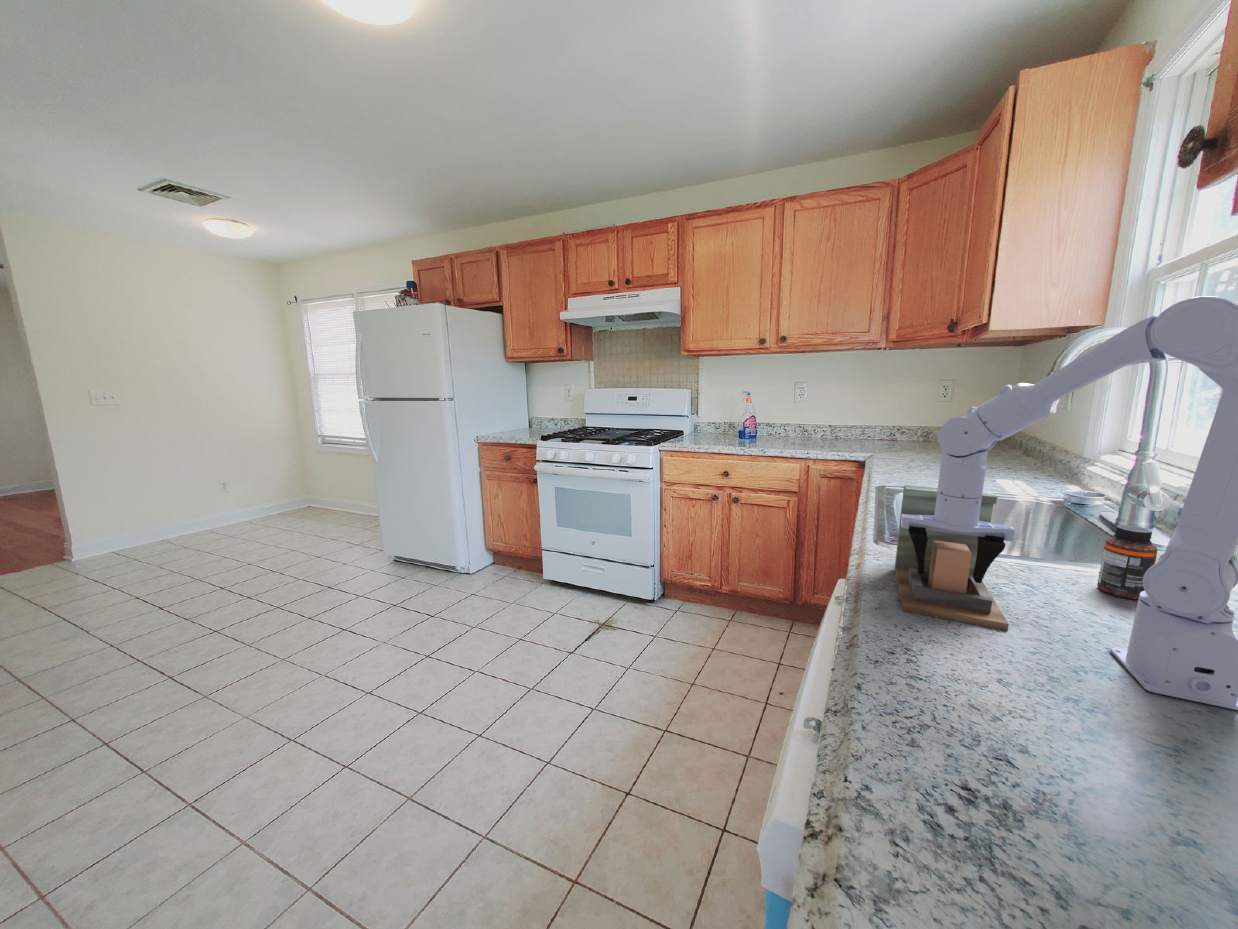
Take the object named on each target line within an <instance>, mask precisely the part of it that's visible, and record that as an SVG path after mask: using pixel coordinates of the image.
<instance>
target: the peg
mask: <svg viewBox="0 0 1238 929" xmlns="http://www.w3.org/2000/svg"><path fill="white" fill-rule="evenodd" d="M971 555H972V553H971V551H970V550H969V548H968V547H967V545H966V544H959V543H951V542H943V541H935V540H934V541H933V549H932V556H931V564H930V572H929V580H928V587H929V588H935V589H941V590H947V591H953V592H959V593H965V594H966V590H967V583H968V576H969V569H970V562H971Z"/></svg>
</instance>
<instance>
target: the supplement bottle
mask: <svg viewBox="0 0 1238 929" xmlns="http://www.w3.org/2000/svg"><path fill="white" fill-rule="evenodd" d="M1114 532H1115V534H1113V535H1112V536H1109V537H1108V538H1106V539H1105V542H1104V546H1103V552H1102V556H1101V563H1100V568H1099V572H1098V577H1097V578H1098V579H1097V585H1096V586H1097V587H1098V589H1100V590H1101V591H1103V592H1104V591H1105V593H1107V594H1110V595H1111V596H1112V595H1113V596H1115V597H1119V598H1124V599H1128V600H1139V595H1140V592H1142V591H1145V590H1144V587H1143V577H1144V574H1145V572H1146V571H1147V570H1148V569H1149V568H1150V567H1151V566H1153V565H1154V564H1156V562H1157V560H1156V559H1157V554H1158V548H1157V546H1156V545H1155V544H1154V543H1153V542H1152V541H1151V539H1152V534H1153V531H1152V530H1151V529H1148V528H1145V527H1141V526H1136V525H1129V524H1119V525H1116V527H1115V531H1114Z"/></svg>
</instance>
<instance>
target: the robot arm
mask: <svg viewBox="0 0 1238 929" xmlns="http://www.w3.org/2000/svg"><path fill="white" fill-rule="evenodd" d="M1167 355H1168V356H1170V357H1172V358H1174V359H1177V360H1179V361H1182V362H1185V363H1188V364H1190V365H1192V366H1195V367H1197V368H1198V369H1199V371H1201V373H1203V374H1204V375H1206V376H1207V377H1208V378H1209V379H1210V380H1212V381H1213V383H1215V384H1217V385H1218V386H1219V387H1220V388H1221V389H1222V393H1221V396H1220V399H1219V402H1218V405H1217V408H1216V411H1215V413H1214V416H1213V419H1212V422H1211V425H1210V428H1209V431H1208V433H1207V436H1206V440H1205V442H1204V445H1203V448H1202V451H1201V454H1200V457H1199V460H1198V462H1197V466H1196V469H1195V471H1194V475H1193V477H1192V480H1191V482H1190V485H1189V486H1190V487H1189V489H1188V492H1187V495H1186V497H1185V500H1184V502H1183V507H1182V510H1181V513H1180V515H1179V519H1178V521H1177V524H1176V526H1175V528H1174V531H1173V533H1172V536H1171V537H1170V539H1169V541H1168V543H1167V545H1166V548H1165V551H1164V553H1162V554H1161V555H1160V557H1159V558H1158V560H1157V561H1156V562H1155V564H1154V565H1153V566H1151V567H1150V568H1149V569H1148V570H1147V571H1146V572H1145V574H1144V577H1143V587H1144V590H1145V591H1142V592H1140V595H1139V599H1137V605H1136V608H1135V609H1136V610H1135V614H1134V619H1133V622H1132V623H1133V624H1132V627H1131V633H1130V638H1129V640H1128V641H1129V642H1128V647H1127V649H1124V648H1118V647H1110V648H1109V651H1110V652H1111V654H1112V655H1113V656H1114V657H1115V658H1116V659H1117V660H1118V661H1119V662H1120V664H1122V666H1123V667H1124V668H1125V669H1126V670H1127V671H1128V672H1129V673H1130V674H1131V675H1132V676H1133V678H1135V680H1136V681H1137V682H1138V683H1139V684H1140V685H1141V686H1142V687H1143V688H1144V689H1145V690H1146V691H1148V692H1151V693H1154V694H1159V695H1164V696H1169V697H1173V698H1178V699H1183V700H1187V701H1192V702H1198V703H1203V704H1207V705H1211V706H1212V705H1213V706H1215V707H1220V708H1221V707H1222V708H1226V709H1230V710H1236V711H1238V639H1237V637H1236V635H1235V634H1234V631H1233V622H1234V618H1235V612H1234V611H1233V610H1232V609H1230V606H1228V603H1229V601H1230V597H1231V592H1232V590H1233V589H1234V588H1235V587H1236V586H1237V584H1238V568H1237V566H1236V563H1235V559H1234V558H1235V557H1234V555H1235V552H1236V549H1237V547H1238V305H1237V304H1236V303H1234V302H1232V301H1231V300H1229V299H1226V298H1223V297H1219V296H1212V295H1211V296H1209V295H1205V296H1202V295H1201V296H1195V297H1189V298H1186V299H1183V300H1181V301H1177V302H1176V303H1174V304H1172V305H1170V306H1168V307H1167V308H1165V309H1164V310H1163V311H1162V312H1161V313H1160V314H1159V315H1158V316H1157V315H1151V316H1148V317H1146V318H1144V319H1141V320H1140V321H1138V322H1136V323H1134V324H1132V325H1130V326H1128V327H1127V328H1125V329H1124V330H1121V331H1120V332H1118V333H1116V334H1115V335H1113V336H1111V337H1110V338H1108V339H1106V340H1105V341H1103V342H1101V343H1100V344H1098V345H1097V346H1095V347H1093V348H1092V349H1090V350H1089V351H1087V352H1085V353H1083V354H1082V355H1081V356H1079V357H1077V358H1076V359H1074V360H1073V361H1071V362H1069V363H1067V364H1066V365H1065V366H1063V367H1061V368H1060V369H1058V370H1056V371H1054V372H1053V373H1052V374H1050V375H1048V376H1046V377H1045V378H1043V379H1041V380H1040V381H1038V382H1037V383H1033V384H1032V383H1026V382H1019V383H1016V384H1015V385H1013V386H1012V384H1006V385H1004V386H1001V388H999V389H998V390H997V391H998V393H999V394H997V395H996V396H994V397H992V398H990V399H989V400H987V401H986V402H983V403H982V404H981V405H979V406H978V407H976V406H972V407H970V408H968V409H966V413H967V415H966V416H955V417H952V418H949V419H948V420H947V422H945V423H944V424H943V425H942V426H941V427H940V429H939V430H938V434H937V442H938V445H939V447H940V448H941V449H942V455H941V462H940V467H939V468H940V469H939V475H938V482H937V483H938V485H937V488H938V490H937V498H936V506H935V514H934V515H908V514H902V517H901V528H905V529H908V531H909V534H910V537H911V539H912V542H913V545H914V549H915V553H916V559H917V571H918V574H923V573H924V560H925V551H926V546H927V541H928V537H927V532H926V530H931V531H939V532H947V533H956V534H964V535H972V536H978V547H977V558H976V563H975V567H974V573H973V578H974V580H975V582H976V583H981V582H982V581H983V579H984V576H985V575H986V573H987V571H988V569H989V568H990V566H991V565H992V564H993V562H994V561H995V560H996V559H997V557H999V555H1000V554H1002V552H1003V551H1004V550H1005V548H1006V543H1005V542H1014V539H1015V538H1014V537H1015V532H1016V529H1015V528H1014V527H1013V526H1012V525H1006V524H1000V523H999V524H997V523H995V522H994V523H992V522H991V523H988V522H983V521H979V514H980V507H981V500H982V493H983V492H984V487H985V486H984V485H985V480H986V479H985V478H986V472H987V461H988V455H989V453H988V452H989V451H990V450H992V448H994V446H995V445H996V444H997V442H1000V441H1003V440H1005V439H1006V438H1009V437H1010V436H1012V435H1014V434H1017V433H1018V432H1020V431H1022V430H1024V429H1026V428H1028V427H1030V426H1032V425H1034V424H1036V423H1037V422H1039V421H1041V420H1043V419H1045V418H1048V416H1049V415H1050V413H1051V410H1052V407H1053V404H1054V403H1055V402H1057V401H1058V400H1061V399H1063V398H1064V397H1067V396H1068V395H1071V394H1072V393H1074V392H1077V391H1078V390H1081V389H1083V388H1084V387H1086V386H1088V385H1090V384H1092V383H1094V382H1096V381H1099V380H1101V379H1102V378H1105V377H1107V376H1109V375H1110V374H1112V373H1114V372H1116V371H1118V370H1120V369H1122V368H1125V367H1127V366H1130V365H1131V366H1133V365H1138V364H1145V363H1146V364H1147V363H1153V362H1161V361H1166V356H1167Z"/></svg>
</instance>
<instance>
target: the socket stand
mask: <svg viewBox="0 0 1238 929" xmlns="http://www.w3.org/2000/svg"><path fill="white" fill-rule="evenodd" d="M937 490H938V487H930V486H928V487H927V486H919V485H907V484H904V485H903V490H902V500H901V509H900V517H899V526H898V534H897V535H898V536H897V543H896V551H895V561H894V568H895V570H894V573H896V575H895V579H896V578H897V580H896V584H898V585H897V590H898V589H899V590H898V595H899V594H900V595H899V601H900V600H901V601H900V605H902V606H901V610H903V611H902V612H906V611H907V612H908V613H912V614H917V613H918V614H917V615H923V614H924V615H923V616H929V617H933V616H937V617H936V618H937V619H938V618H939V617H940V618H941V619H945V620H949V619H950V620H951V621H955V622H960V623H966V624H971V625H976V626H982V627H988V628H992V629H999V630H1002V631H1003V630H1004V631H1008V630H1009V625H1010V624H1009V622H1008V620H1007V618H1006V617H1005V615H1004V613H1003V612H1002V611H1001V608H1000V607H999V606H998V604H997V602H996V600H994V597H993V596H992V594H991V593H990V591H989V589H988V588H987V586H986V584H985V583H984V581H983V580H982V582H981V583H976V582H975V580H974V578H973V573H974V567H975V563H976V558H977V547H978V536H972V535H964V534H956V533H947V532H939V531H931V530H926V532H927V537H928V541H927V546H926V551H925V560H924V573H923V574H918V571H917V559H916V553H915V549H914V545H913V542H912V539H911V537H910V534H909V531H908V529H905V528H901V517H902V514H908V515H934V514H935V506H936V498H937ZM997 500H998V496H997V495H996V494H995V493H993V492H984V491H983V493H982V500H981V507H980V514H979V521H983V522H988V523H992V516H993V508H994V505H996V504H997ZM934 540H935V541H943V542H951V543H959V544H966V545H967V547H968V548H969V550H970V551H971V553H972V555H971V562H970V569H969V576H968V583H967V590H966V594H965V593H959V592H953V591H947V590H941V589H935V588H929V587H928V580H929V572H930V564H931V556H932V549H933V541H934Z"/></svg>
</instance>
